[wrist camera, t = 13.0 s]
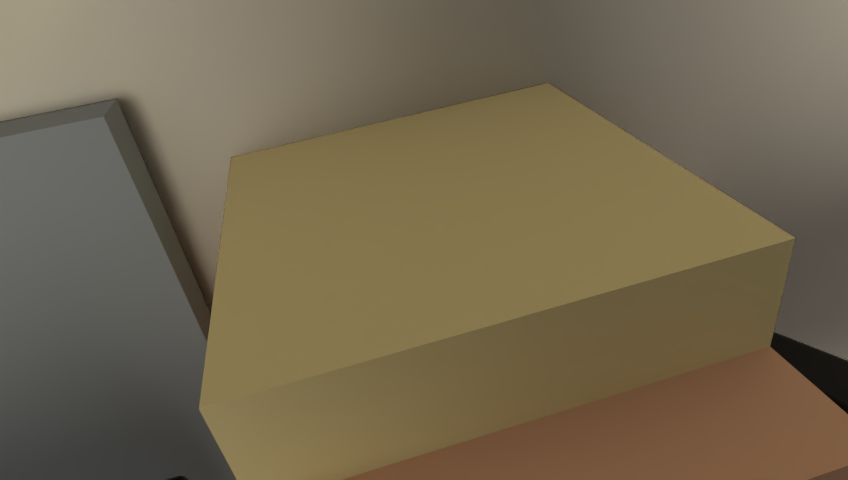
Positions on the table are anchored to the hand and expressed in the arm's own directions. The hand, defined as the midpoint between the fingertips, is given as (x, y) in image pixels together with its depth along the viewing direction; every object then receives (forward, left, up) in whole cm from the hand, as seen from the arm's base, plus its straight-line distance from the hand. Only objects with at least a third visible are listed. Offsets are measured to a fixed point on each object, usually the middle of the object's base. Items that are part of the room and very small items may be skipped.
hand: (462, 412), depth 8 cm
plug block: (0, 0, -1) cm, 1 cm away
